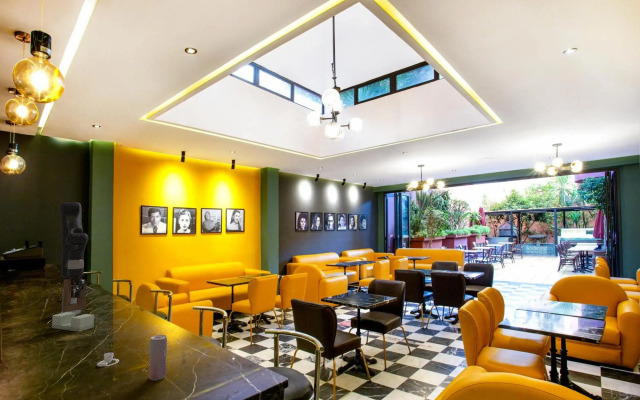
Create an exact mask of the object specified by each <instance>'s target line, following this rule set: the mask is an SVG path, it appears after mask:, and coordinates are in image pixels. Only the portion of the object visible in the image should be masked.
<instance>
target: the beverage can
mask: <svg viewBox="0 0 640 400" xmlns="http://www.w3.org/2000/svg"><path fill="white" fill-rule="evenodd" d="M167 349H168V339H167V335H164V334H159V335H158V334H156V335H153V336H151V337H150V340H149V350H148V351H149V354H148V356H149V357H148V358H149V359H148V379H149V380H150V381H154V382H155V381H159V380H162V379H164V378H166V376H167V351H168V350H167Z"/></svg>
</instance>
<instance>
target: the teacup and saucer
mask: <svg viewBox="0 0 640 400" xmlns="http://www.w3.org/2000/svg"><path fill="white" fill-rule="evenodd" d="M114 355H115V353H114V352H112V351H111V352H110V351H109V352H105V353H103V360H102V361H101V360H100V361H99V362H98V363H96V366H97V367H101V368H102V367H109V366H113V365H116V364H118V363H119V362H120V360H119V359H118V358H114ZM112 361H115V362H113V363H112Z"/></svg>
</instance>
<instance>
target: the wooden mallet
mask: <svg viewBox="0 0 640 400" xmlns="http://www.w3.org/2000/svg"><path fill="white" fill-rule="evenodd" d="M71 284H72V279H69V278H64V280H63V285H64V288H63V289H62V290H63V291H62V301H63V305H62V304H61V309H60V310H61V311H60V312H61V313H62V312H69V311H75V310H86V300H87V299H86V298H87V284H86V283H85V285H84V289H83V290H81V291H80V297H79V298H77V303H76V304H70V303H71V298H75V293H74V294H73V295H72V296H71Z"/></svg>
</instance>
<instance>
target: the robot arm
mask: <svg viewBox="0 0 640 400" xmlns="http://www.w3.org/2000/svg"><path fill="white" fill-rule="evenodd" d="M82 212H83V209H82V204H81V203H80V202H78V201H69V202H68V201H65V202H61V203H60V205H59V216H60V227H61V228H60V230H61V231H60V232H61V233H60V236H61V237H60V241H61V242H60V243H61V267H60V275H61V278H63V279H72V284H71V296H72V295H73V294H74V293H75V298H71V303H70V304H76V303H77V298H79V297H80V291H81V290H83V289H84V285H85V284H86V279H83V278H82V276H84V267H85V261H84V257H85V249H86V247H87V245H88V241H89V235H88V234H87V233H86V232H84V230H83V224H82V223H83V222H82V221H83V219H82V218H83V213H82ZM67 217H73V218H71V219H70V220H68V218H67ZM63 288H64V284H63ZM62 305H63V300H62V304H61V306H62ZM69 312H72V313H76V314H75V316H77V315H79V314H81V313H82V311H81V310H75V311H69ZM61 313H65V312H61Z"/></svg>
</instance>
